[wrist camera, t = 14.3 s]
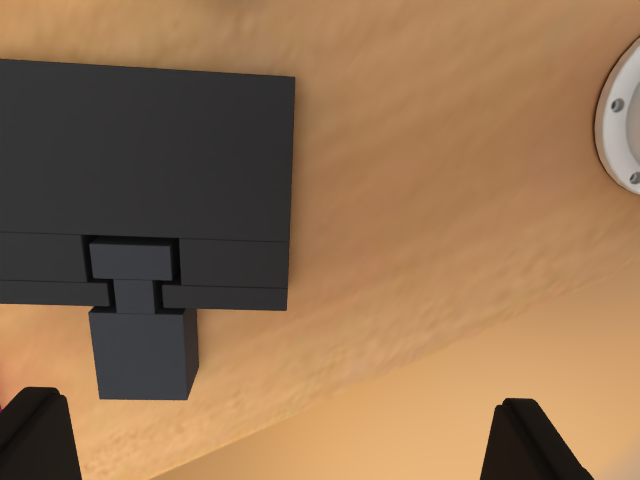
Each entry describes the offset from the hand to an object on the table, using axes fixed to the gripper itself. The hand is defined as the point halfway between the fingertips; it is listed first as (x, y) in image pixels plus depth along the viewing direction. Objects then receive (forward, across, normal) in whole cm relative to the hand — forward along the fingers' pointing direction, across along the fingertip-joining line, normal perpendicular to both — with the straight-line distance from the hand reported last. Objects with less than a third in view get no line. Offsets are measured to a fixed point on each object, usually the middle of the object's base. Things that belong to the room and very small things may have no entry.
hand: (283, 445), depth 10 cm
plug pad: (+23, +11, +9) cm, 27 cm away
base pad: (+23, +11, 0) cm, 25 cm away
